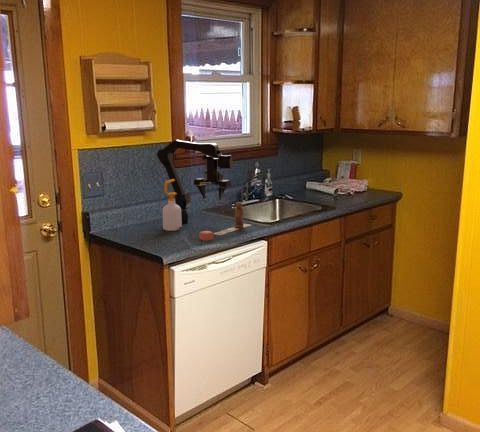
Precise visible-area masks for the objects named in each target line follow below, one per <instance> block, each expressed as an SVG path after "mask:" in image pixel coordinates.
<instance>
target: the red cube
mask: <svg viewBox="0 0 480 432" xmlns="http://www.w3.org/2000/svg"><path fill="white" fill-rule="evenodd" d="M213 233H214V232H213V231H210V230H205V231H204V230H202V231H199V233H198V234H199V240H202V241H212V240H214V234H213Z"/></svg>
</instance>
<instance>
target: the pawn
mask: <svg viewBox="0 0 480 432" xmlns="http://www.w3.org/2000/svg"><path fill="white" fill-rule="evenodd" d="M243 209H244V208H243V203H241V202H240V201H238V202H236V203H235V209H234V215H235V216H234V226H233V227H235V228H237V229H238V228H241V229H244V228H243V227H244V226H243V224H244V223H243V222H244V220H243V217H244V216H243V212H244V211H243Z"/></svg>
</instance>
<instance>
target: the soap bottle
mask: <svg viewBox="0 0 480 432" xmlns="http://www.w3.org/2000/svg"><path fill="white" fill-rule="evenodd" d="M173 181H175V179H171V180H170V179H169V180H166V181H164V194H166V195H167V196H168V197H169V198H168V199H167V202H168V203H167V204H166V205H164V206H163V208H162V228H163V230H165V231H169V232H174V231H179V230H181V228H182V226H183V225H182V220H181V208H180V206H178V205H177V204H176V202H175V198H174V197H175V195H176V194H177V193H175V192H174V191H173V192H168V184H171V182H173Z"/></svg>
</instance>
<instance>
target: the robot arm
mask: <svg viewBox="0 0 480 432" xmlns="http://www.w3.org/2000/svg"><path fill="white" fill-rule="evenodd" d="M219 148H220V147H219V145H218V144H217V143H215V142H205V143H203V142H202V143H201V142H200V143H199V142H194V141H193V142H192V141H186V140H180V139H174V140H172V141H171V142H170V143H169V144H168V145H166V146H165V147H164V148H159V150H158V151H157V153H156V157H157V159H158V161H159V162H160V164H161V165H163V166H164V168H165V171H166V174H167V176H168V179H169V180H171V179H175V181H173V182H170V184H171V187H172V189H173V192H175V193H177V194H176V195H174V199H175V204H177V205H178V206H180V208H181V220H182V224H188V223H189V214H188V212H187V210H188V207H190V206H191V203H192V197H191V196H190V192H189V191H187V192H186V191H185V190H184V188H183V186H182V183H181V180H180V177H179V175H178V171H177V170H176V168H175V167H176V166H175V165H174V153H175V152H176V151H177V150H178V149H180V150H189V151H194V152H199V153H201V154H203V155H204V156H203V157H202V158H201V160H203V161H204V160H205V171H204V174H206V178H204V177H197V178H194V179H193V185H194V186H195V187H197V189H198V191H199V192H200V194H201V196H202V198H203V199H204V200H205V199H206V186H207V185H216V186H219V187H217V188H218V199H219V201H222V199H223V196H224V193H225V190H226V189H228V188H229V187H231V186H232V181H231V180H230V179H224V174H222V173H220V170H233V169H234V168H233V167H234V161H233V157H232V155H231V154H229V155H224V154H223V153H222V152H221V151H220V150H221V149H219ZM219 169H220V170H219Z"/></svg>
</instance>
